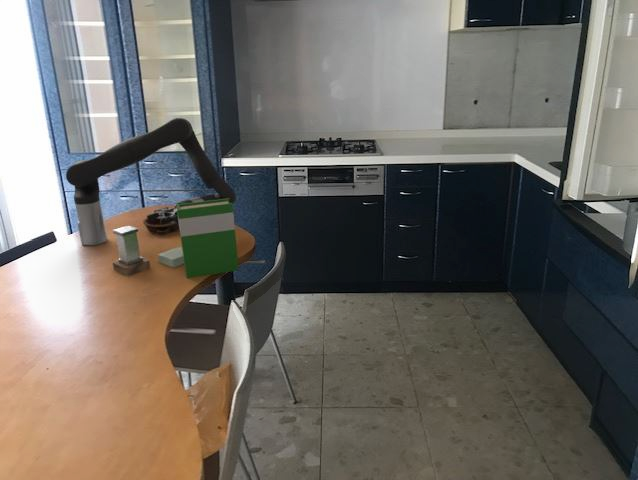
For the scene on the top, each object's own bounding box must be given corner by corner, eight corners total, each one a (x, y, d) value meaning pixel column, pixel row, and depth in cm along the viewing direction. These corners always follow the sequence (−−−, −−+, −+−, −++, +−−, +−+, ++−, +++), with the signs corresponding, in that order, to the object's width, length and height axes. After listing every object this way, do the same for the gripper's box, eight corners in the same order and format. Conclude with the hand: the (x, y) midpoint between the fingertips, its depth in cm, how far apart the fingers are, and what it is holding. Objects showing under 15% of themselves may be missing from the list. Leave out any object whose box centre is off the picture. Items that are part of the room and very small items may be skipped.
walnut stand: (127, 276, 174) (126, 268, 173) (113, 270, 180) (112, 262, 179) (150, 268, 180) (149, 260, 179) (136, 262, 186) (135, 254, 185)
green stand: (173, 267, 180) (172, 259, 179) (158, 261, 186) (157, 254, 185) (194, 259, 186) (193, 252, 185) (179, 254, 192) (178, 247, 191)
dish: (140, 239, 210) (138, 228, 208) (149, 223, 230) (147, 212, 228) (183, 236, 212) (181, 225, 210) (188, 220, 232) (187, 209, 231)
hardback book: (235, 262, 183) (228, 198, 174) (238, 270, 176) (232, 203, 168) (185, 270, 178) (176, 204, 169) (186, 278, 171) (177, 210, 163)
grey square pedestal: (127, 266, 175) (121, 233, 171) (118, 262, 179) (112, 230, 175) (143, 260, 179) (137, 228, 175) (133, 256, 183) (128, 225, 179)
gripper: (178, 196, 197) (141, 207, 186) (201, 201, 188) (163, 213, 177) (181, 215, 200) (145, 226, 188) (204, 221, 191) (167, 233, 180)
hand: (154, 220), depth 183 cm, fingers open, 8 cm apart
